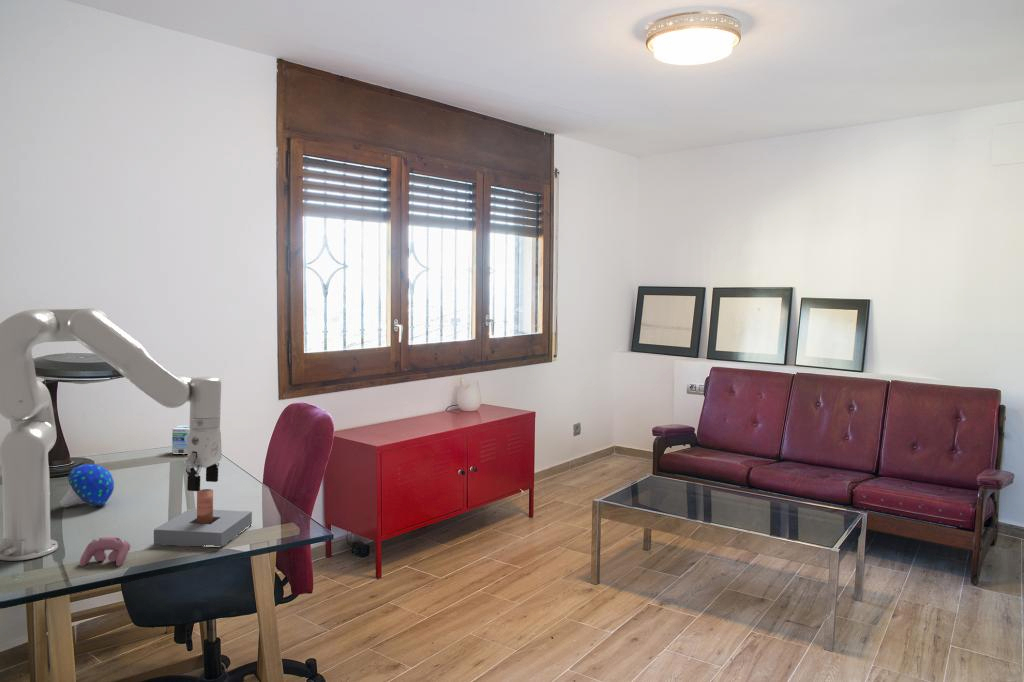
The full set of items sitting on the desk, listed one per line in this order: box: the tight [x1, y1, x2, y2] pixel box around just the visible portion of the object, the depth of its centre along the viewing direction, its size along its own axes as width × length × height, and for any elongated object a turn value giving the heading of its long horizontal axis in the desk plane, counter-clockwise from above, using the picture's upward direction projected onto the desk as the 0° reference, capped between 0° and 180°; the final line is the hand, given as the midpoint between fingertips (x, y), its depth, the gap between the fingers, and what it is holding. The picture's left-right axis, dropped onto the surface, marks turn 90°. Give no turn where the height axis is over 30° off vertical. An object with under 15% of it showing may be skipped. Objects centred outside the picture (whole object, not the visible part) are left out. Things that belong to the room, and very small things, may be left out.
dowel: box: [196, 488, 214, 524], centre depth 187 cm, size 4×4×12 cm
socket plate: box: [153, 508, 253, 548], centre depth 187 cm, size 18×18×4 cm
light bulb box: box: [171, 425, 191, 454], centre depth 279 cm, size 11×7×11 cm, turn 95°
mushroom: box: [59, 463, 115, 508], centre depth 208 cm, size 14×14×15 cm
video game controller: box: [79, 536, 131, 567], centre depth 167 cm, size 10×5×7 cm, turn 93°
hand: (202, 486), depth 186 cm, fingers open, 9 cm apart
